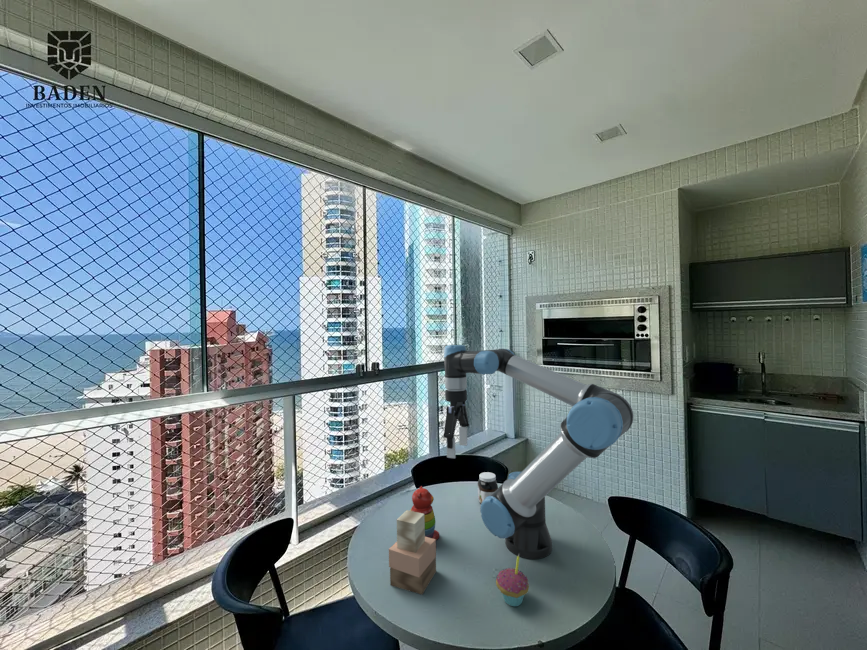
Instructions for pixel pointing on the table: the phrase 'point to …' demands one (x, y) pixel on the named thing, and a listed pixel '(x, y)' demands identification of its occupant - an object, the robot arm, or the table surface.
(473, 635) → the table surface
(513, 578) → the cupcake
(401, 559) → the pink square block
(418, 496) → the stacking bear
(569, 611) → the table surface
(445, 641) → the table surface
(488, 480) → the spread jar
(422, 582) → the bottom block
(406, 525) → the birch block
